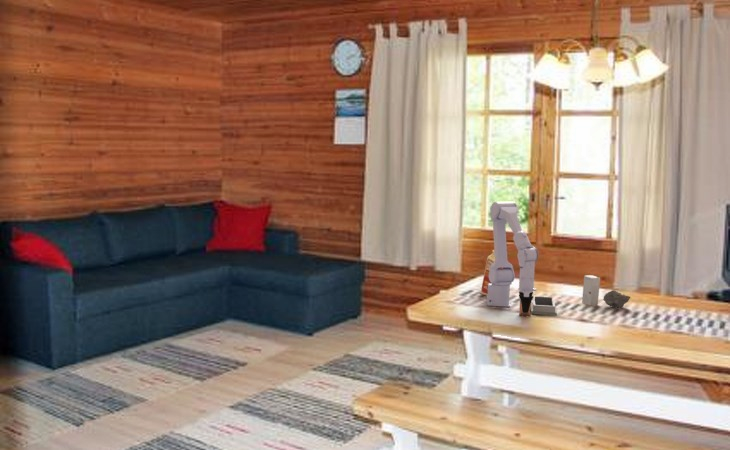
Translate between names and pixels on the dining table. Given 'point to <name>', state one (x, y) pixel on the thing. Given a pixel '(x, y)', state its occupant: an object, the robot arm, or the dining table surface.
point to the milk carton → (486, 274)
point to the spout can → (523, 312)
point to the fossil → (615, 299)
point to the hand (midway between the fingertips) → (525, 310)
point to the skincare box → (591, 290)
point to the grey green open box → (543, 306)
